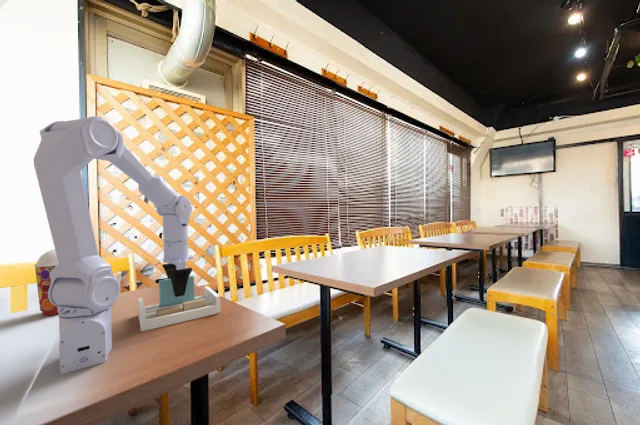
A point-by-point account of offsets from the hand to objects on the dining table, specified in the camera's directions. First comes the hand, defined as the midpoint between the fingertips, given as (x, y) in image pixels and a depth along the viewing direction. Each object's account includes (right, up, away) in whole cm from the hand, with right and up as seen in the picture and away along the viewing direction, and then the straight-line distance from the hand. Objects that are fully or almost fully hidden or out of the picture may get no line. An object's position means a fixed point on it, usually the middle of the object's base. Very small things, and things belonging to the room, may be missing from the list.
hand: (177, 292), depth 71 cm
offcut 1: (+2, -5, -7) cm, 9 cm away
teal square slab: (0, -5, 0) cm, 5 cm away
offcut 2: (+6, -5, -4) cm, 9 cm away
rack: (+2, -6, -2) cm, 6 cm away
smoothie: (-34, -7, +3) cm, 35 cm away
